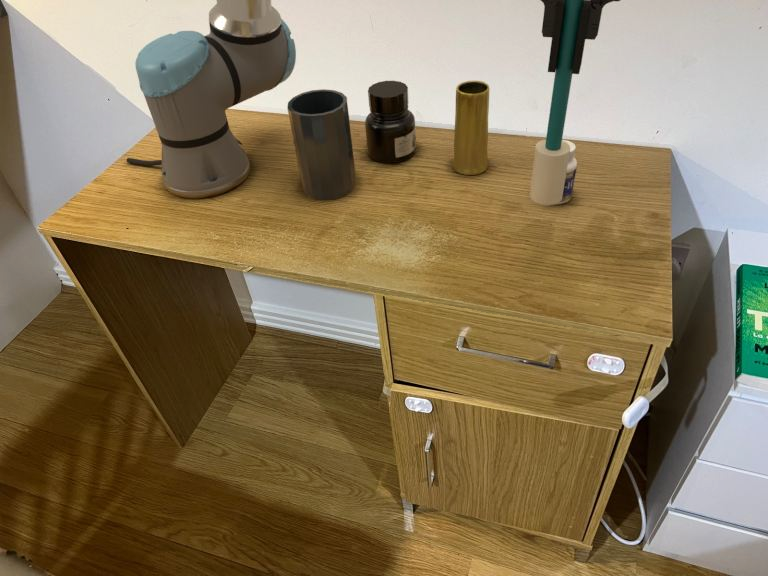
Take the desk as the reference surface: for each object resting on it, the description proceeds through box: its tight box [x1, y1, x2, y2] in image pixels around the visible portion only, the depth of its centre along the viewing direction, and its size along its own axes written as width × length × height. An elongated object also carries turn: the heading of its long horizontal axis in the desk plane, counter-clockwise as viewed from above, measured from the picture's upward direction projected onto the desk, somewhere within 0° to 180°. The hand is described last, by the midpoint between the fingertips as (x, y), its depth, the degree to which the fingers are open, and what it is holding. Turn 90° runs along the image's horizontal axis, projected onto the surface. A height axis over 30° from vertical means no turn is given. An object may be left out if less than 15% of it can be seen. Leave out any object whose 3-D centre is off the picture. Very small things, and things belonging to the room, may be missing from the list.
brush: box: [529, 0, 584, 206], centre depth 66 cm, size 4×4×24 cm
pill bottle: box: [556, 139, 578, 205], centre depth 91 cm, size 5×5×9 cm
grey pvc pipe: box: [287, 88, 357, 201], centre depth 96 cm, size 9×9×15 cm
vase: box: [452, 80, 490, 176], centre depth 98 cm, size 6×6×14 cm
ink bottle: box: [364, 80, 417, 163], centre depth 104 cm, size 10×9×12 cm
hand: (564, 67), depth 63 cm, fingers closed on brush, 2 cm apart
